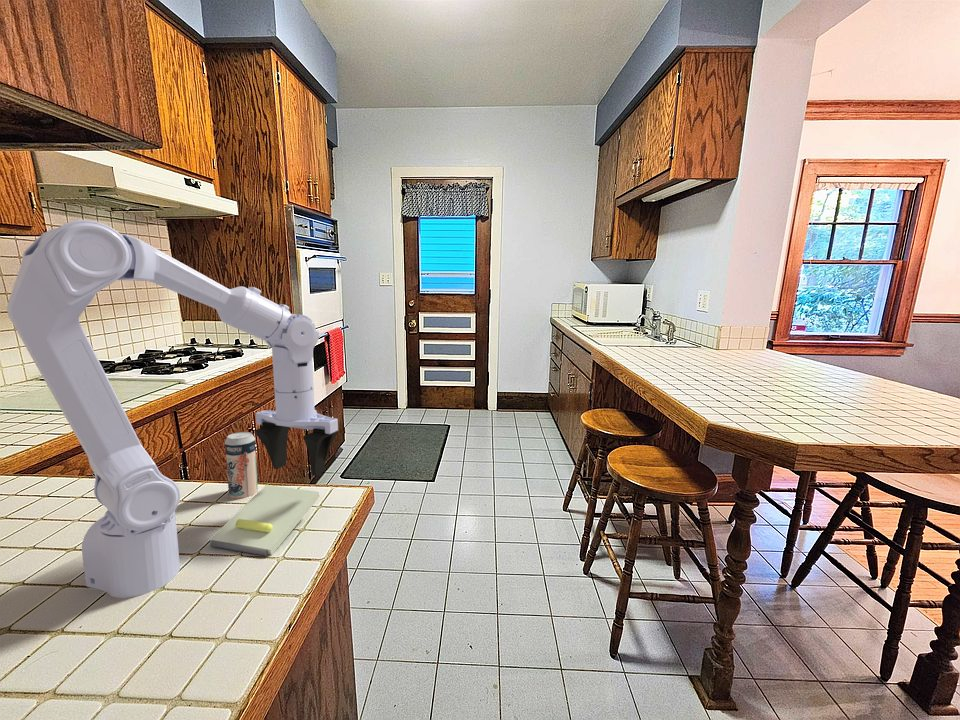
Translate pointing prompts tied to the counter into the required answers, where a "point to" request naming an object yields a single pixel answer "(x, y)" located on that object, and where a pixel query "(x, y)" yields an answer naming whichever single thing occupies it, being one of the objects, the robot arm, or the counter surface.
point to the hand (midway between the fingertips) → (298, 470)
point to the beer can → (241, 465)
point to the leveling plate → (265, 520)
